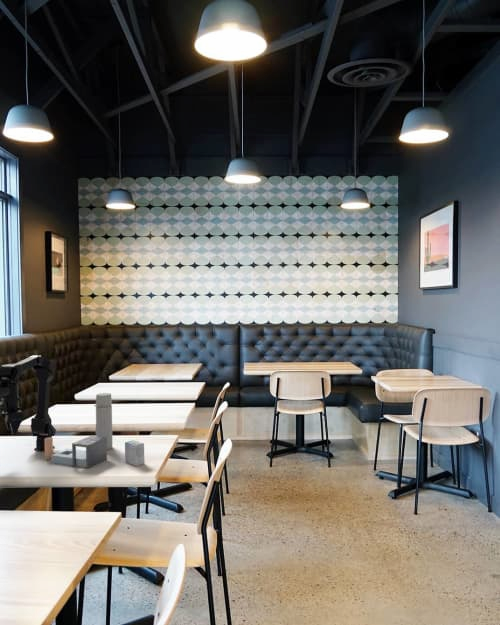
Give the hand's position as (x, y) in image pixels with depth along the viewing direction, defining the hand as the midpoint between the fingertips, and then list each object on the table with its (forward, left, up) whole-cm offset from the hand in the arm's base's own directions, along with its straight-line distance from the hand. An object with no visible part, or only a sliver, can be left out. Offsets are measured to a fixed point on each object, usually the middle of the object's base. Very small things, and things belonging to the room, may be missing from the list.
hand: (11, 432), depth 204 cm
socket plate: (-13, +22, -14) cm, 29 cm away
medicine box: (-19, +47, -14) cm, 52 cm away
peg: (-11, +9, -14) cm, 20 cm away
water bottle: (-32, +21, -14) cm, 41 cm away
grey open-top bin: (-13, +29, -14) cm, 34 cm away
